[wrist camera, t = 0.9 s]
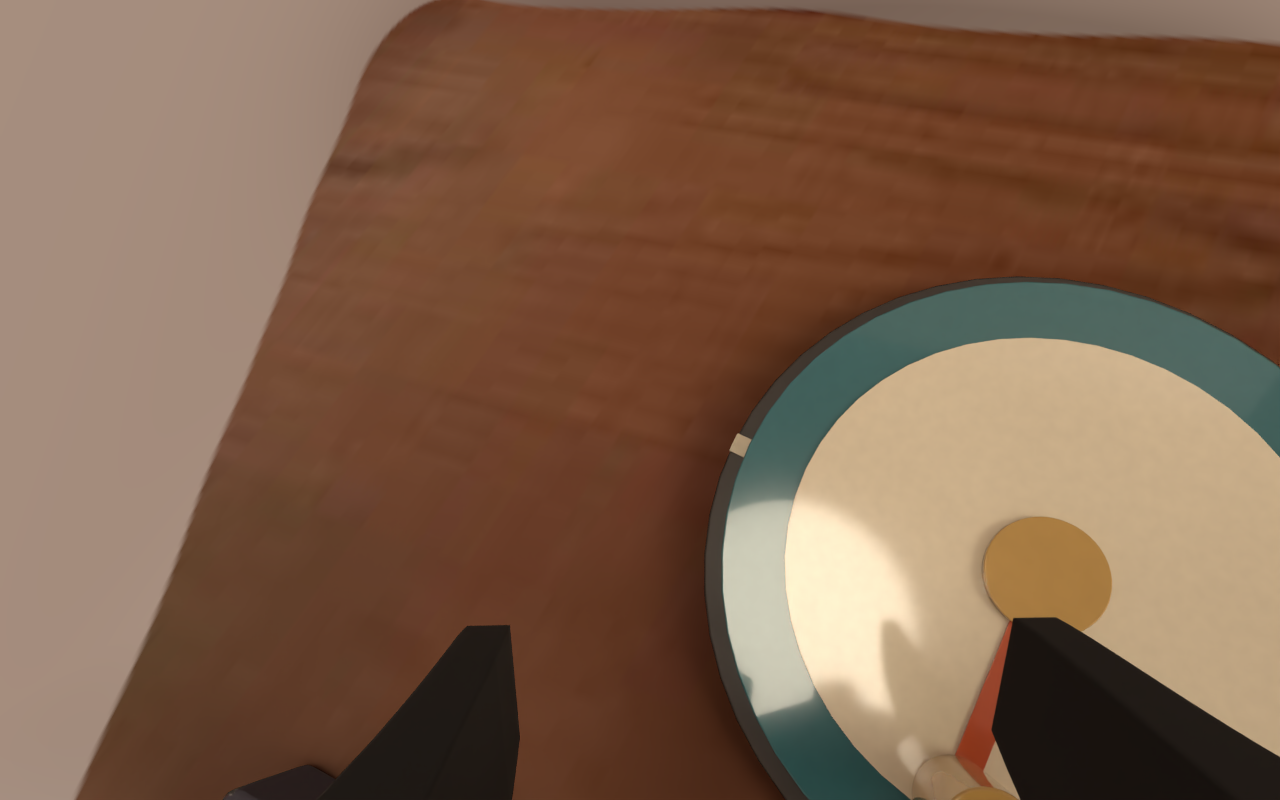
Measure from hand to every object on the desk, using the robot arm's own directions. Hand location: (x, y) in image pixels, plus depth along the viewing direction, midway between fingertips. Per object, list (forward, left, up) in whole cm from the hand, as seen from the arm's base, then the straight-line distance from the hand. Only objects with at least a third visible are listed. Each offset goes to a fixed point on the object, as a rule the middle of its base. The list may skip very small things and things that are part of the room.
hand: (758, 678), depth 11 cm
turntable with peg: (-2, -7, -11) cm, 13 cm away
